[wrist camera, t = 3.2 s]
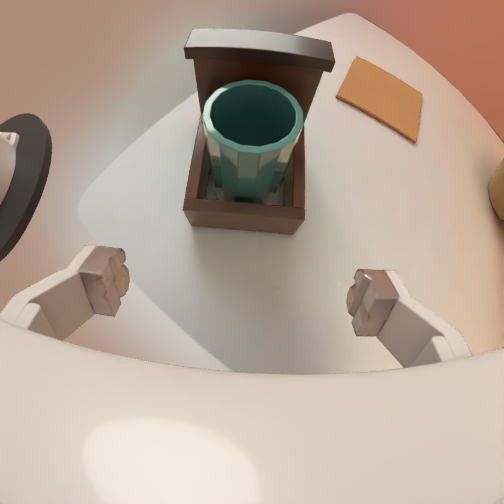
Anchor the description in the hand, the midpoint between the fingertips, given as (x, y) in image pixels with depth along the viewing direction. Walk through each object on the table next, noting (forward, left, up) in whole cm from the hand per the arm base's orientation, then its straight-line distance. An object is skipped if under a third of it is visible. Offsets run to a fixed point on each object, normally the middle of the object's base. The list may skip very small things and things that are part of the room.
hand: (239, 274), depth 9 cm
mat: (+6, +33, -16) cm, 37 cm away
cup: (-4, +10, -16) cm, 19 cm away
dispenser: (-5, +11, -16) cm, 20 cm away
